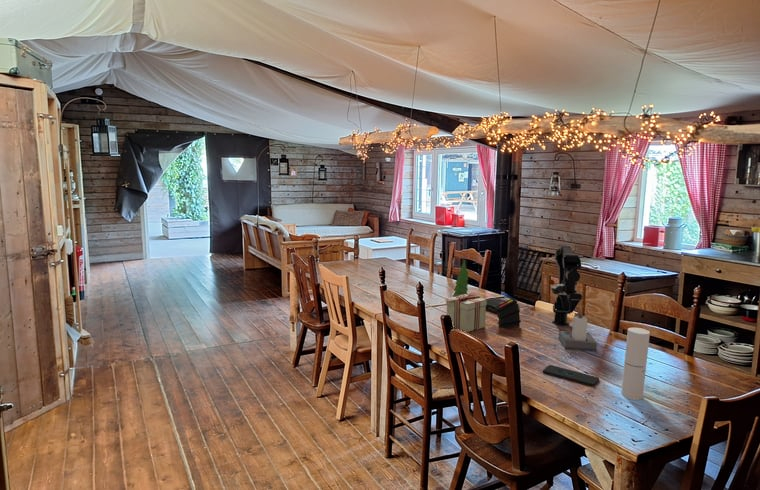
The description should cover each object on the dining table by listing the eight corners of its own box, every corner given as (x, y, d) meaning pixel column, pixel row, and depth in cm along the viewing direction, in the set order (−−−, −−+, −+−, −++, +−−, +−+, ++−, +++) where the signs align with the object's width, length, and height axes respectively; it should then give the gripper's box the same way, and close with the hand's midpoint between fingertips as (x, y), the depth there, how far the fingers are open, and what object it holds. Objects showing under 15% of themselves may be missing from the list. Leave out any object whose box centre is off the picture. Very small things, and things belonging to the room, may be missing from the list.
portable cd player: (518, 310, 295) (519, 304, 294) (498, 314, 285) (498, 308, 285) (497, 303, 308) (498, 297, 308) (477, 307, 299) (477, 301, 298)
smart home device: (549, 364, 211) (599, 377, 199) (549, 367, 212) (599, 381, 199) (542, 370, 205) (593, 384, 193) (542, 374, 205) (593, 388, 193)
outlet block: (558, 338, 246) (558, 330, 246) (588, 340, 245) (588, 332, 244) (564, 349, 233) (565, 340, 232) (596, 351, 231) (597, 342, 230)
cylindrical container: (617, 391, 190) (623, 327, 186) (635, 391, 190) (642, 327, 186) (628, 400, 183) (635, 334, 179) (646, 399, 183) (654, 333, 179)
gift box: (458, 319, 275) (459, 288, 272) (486, 327, 262) (488, 295, 259) (438, 325, 263) (439, 293, 260) (467, 334, 250) (469, 300, 247)
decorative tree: (468, 312, 288) (471, 260, 283) (452, 311, 288) (454, 260, 283) (466, 307, 297) (469, 257, 292) (450, 307, 297) (452, 257, 293)
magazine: (525, 323, 263) (516, 299, 260) (504, 335, 261) (494, 311, 258) (522, 321, 267) (512, 297, 263) (501, 333, 265) (491, 308, 261)
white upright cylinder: (571, 342, 239) (573, 312, 237) (582, 342, 239) (584, 313, 236) (573, 345, 234) (576, 315, 232) (585, 346, 234) (587, 316, 231)
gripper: (547, 276, 259) (545, 306, 260) (560, 281, 241) (558, 314, 242) (568, 277, 259) (566, 307, 261) (583, 282, 241) (581, 314, 242)
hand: (567, 310), depth 251 cm, fingers open, 9 cm apart
